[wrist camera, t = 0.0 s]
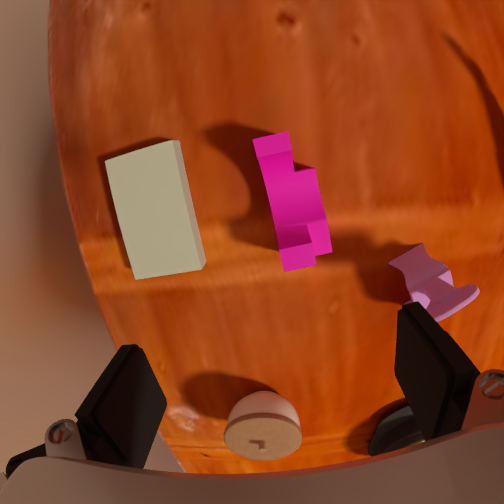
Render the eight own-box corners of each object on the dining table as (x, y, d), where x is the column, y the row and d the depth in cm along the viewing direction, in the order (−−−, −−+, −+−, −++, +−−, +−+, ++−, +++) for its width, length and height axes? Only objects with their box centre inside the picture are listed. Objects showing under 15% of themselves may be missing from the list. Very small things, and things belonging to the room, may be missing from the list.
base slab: (116, 159, 39) (104, 160, 36) (180, 140, 38) (172, 139, 35) (144, 270, 44) (135, 279, 41) (206, 260, 43) (201, 269, 39)
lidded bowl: (309, 412, 51) (314, 457, 40) (250, 430, 53) (246, 474, 43) (280, 369, 48) (281, 418, 37) (216, 392, 50) (206, 438, 39)
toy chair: (398, 311, 43) (438, 368, 29) (382, 265, 41) (427, 315, 27) (440, 286, 42) (491, 334, 27) (427, 239, 40) (485, 277, 25)
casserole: (439, 440, 54) (449, 463, 46) (373, 467, 57) (379, 492, 49) (441, 381, 48) (457, 408, 40) (357, 417, 51) (366, 448, 43)
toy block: (326, 242, 41) (337, 260, 34) (281, 251, 42) (284, 271, 34) (302, 132, 37) (310, 126, 29) (255, 142, 37) (252, 139, 30)
